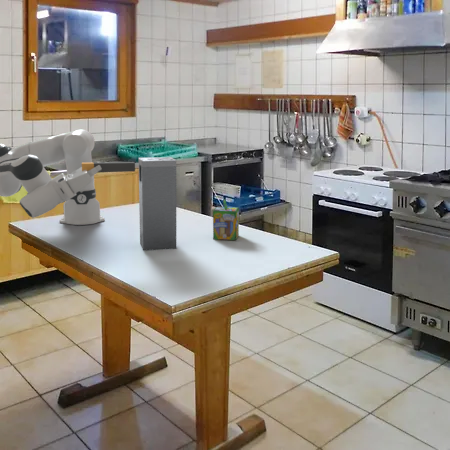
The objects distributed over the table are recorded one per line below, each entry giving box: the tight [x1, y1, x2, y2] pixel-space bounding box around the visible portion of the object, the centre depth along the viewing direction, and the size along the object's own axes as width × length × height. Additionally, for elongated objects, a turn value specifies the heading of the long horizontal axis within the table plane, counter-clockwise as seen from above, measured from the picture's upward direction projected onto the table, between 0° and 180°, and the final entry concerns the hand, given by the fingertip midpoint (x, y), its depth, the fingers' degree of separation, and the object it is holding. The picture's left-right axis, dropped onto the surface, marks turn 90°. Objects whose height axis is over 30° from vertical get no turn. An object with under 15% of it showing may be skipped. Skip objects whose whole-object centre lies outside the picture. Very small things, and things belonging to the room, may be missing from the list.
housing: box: [138, 156, 177, 251], centre depth 210 cm, size 10×12×32 cm
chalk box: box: [212, 199, 240, 241], centre depth 226 cm, size 9×9×15 cm
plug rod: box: [82, 161, 136, 173], centre depth 202 cm, size 3×18×3 cm, turn 105°
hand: (100, 165), depth 202 cm, fingers closed on plug rod, 3 cm apart
